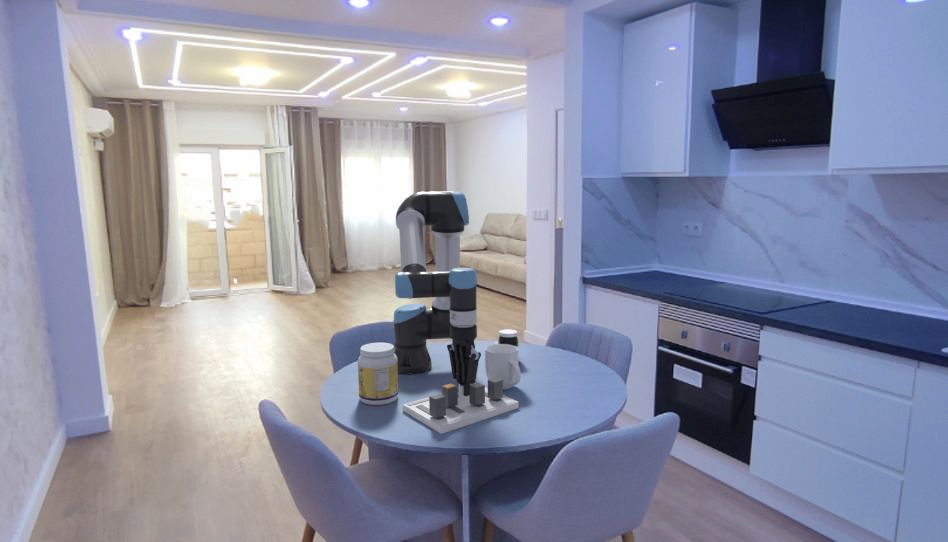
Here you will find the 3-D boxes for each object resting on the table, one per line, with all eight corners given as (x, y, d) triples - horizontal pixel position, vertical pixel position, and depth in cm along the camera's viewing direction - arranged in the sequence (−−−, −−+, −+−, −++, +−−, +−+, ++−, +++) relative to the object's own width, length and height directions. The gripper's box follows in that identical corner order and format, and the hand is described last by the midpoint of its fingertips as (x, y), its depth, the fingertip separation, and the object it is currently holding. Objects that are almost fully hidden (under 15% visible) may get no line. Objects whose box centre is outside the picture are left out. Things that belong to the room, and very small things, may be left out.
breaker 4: (487, 397, 166) (487, 379, 166) (496, 394, 168) (496, 377, 168) (494, 400, 164) (494, 382, 163) (502, 397, 166) (502, 380, 165)
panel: (403, 410, 163) (402, 403, 163) (477, 389, 180) (477, 383, 180) (441, 433, 147) (441, 426, 147) (518, 408, 164) (518, 401, 164)
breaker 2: (442, 404, 161) (441, 385, 160) (451, 401, 163) (451, 383, 162) (448, 407, 159) (447, 388, 158) (457, 404, 161) (457, 385, 160)
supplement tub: (355, 395, 176) (353, 344, 173) (392, 389, 180) (391, 339, 178) (363, 409, 165) (361, 354, 162) (403, 402, 169) (401, 349, 167)
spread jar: (519, 365, 204) (519, 335, 203) (488, 365, 205) (488, 335, 203) (517, 355, 216) (517, 327, 215) (488, 355, 216) (488, 327, 215)
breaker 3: (469, 402, 162) (469, 385, 161) (478, 400, 164) (478, 382, 163) (475, 406, 160) (475, 387, 159) (484, 403, 162) (484, 385, 161)
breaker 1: (429, 415, 154) (429, 396, 153) (439, 411, 156) (439, 393, 155) (435, 418, 151) (435, 399, 150) (446, 415, 153) (445, 396, 153)
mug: (532, 391, 178) (532, 352, 176) (505, 398, 172) (505, 358, 170) (505, 378, 190) (505, 342, 188) (478, 384, 184) (478, 347, 182)
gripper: (438, 321, 155) (440, 402, 158) (466, 330, 144) (467, 416, 148) (460, 318, 159) (461, 395, 163) (488, 326, 149) (489, 409, 152)
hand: (464, 405), depth 155 cm, fingers closed
